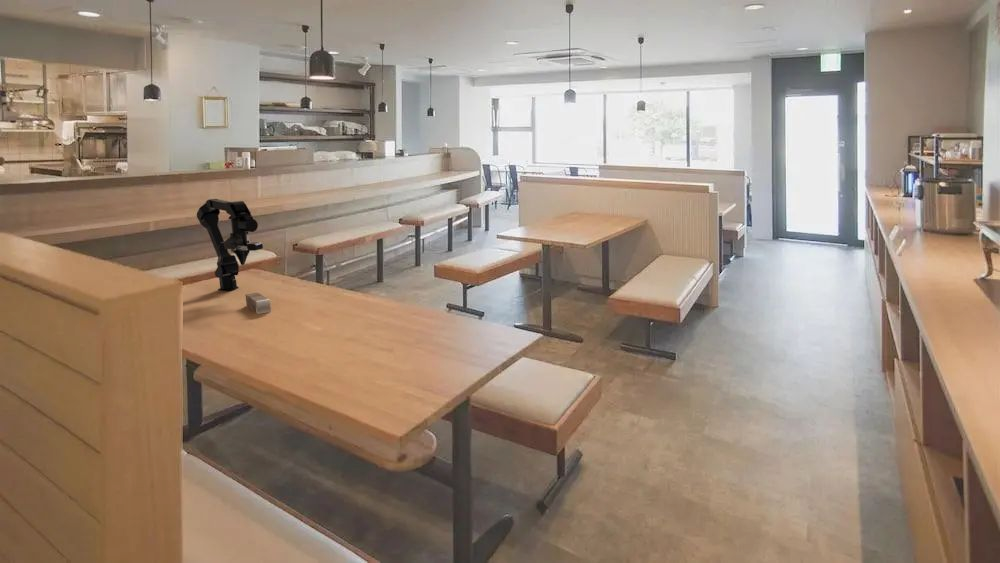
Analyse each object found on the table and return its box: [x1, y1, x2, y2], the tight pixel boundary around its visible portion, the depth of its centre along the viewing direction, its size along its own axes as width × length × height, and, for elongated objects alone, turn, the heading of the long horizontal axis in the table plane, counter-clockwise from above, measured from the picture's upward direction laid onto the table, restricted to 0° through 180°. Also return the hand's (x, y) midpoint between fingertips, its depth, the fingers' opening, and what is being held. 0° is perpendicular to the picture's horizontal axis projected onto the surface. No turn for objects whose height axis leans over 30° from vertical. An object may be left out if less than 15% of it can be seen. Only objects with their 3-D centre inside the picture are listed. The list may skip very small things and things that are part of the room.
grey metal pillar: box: [245, 292, 272, 315], centre depth 255 cm, size 5×5×15 cm
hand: (242, 264), depth 278 cm, fingers closed
